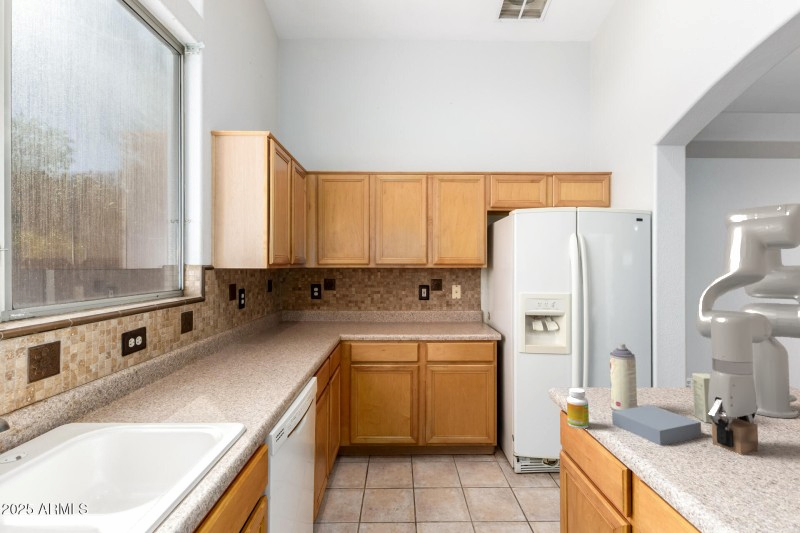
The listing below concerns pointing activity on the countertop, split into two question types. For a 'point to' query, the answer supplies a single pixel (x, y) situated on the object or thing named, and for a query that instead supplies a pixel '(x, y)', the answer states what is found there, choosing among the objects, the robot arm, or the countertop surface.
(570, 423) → the supplement bottle
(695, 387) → the skincare box
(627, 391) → the aerosol can
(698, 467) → the countertop surface
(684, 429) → the slate base block
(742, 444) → the walnut cube
